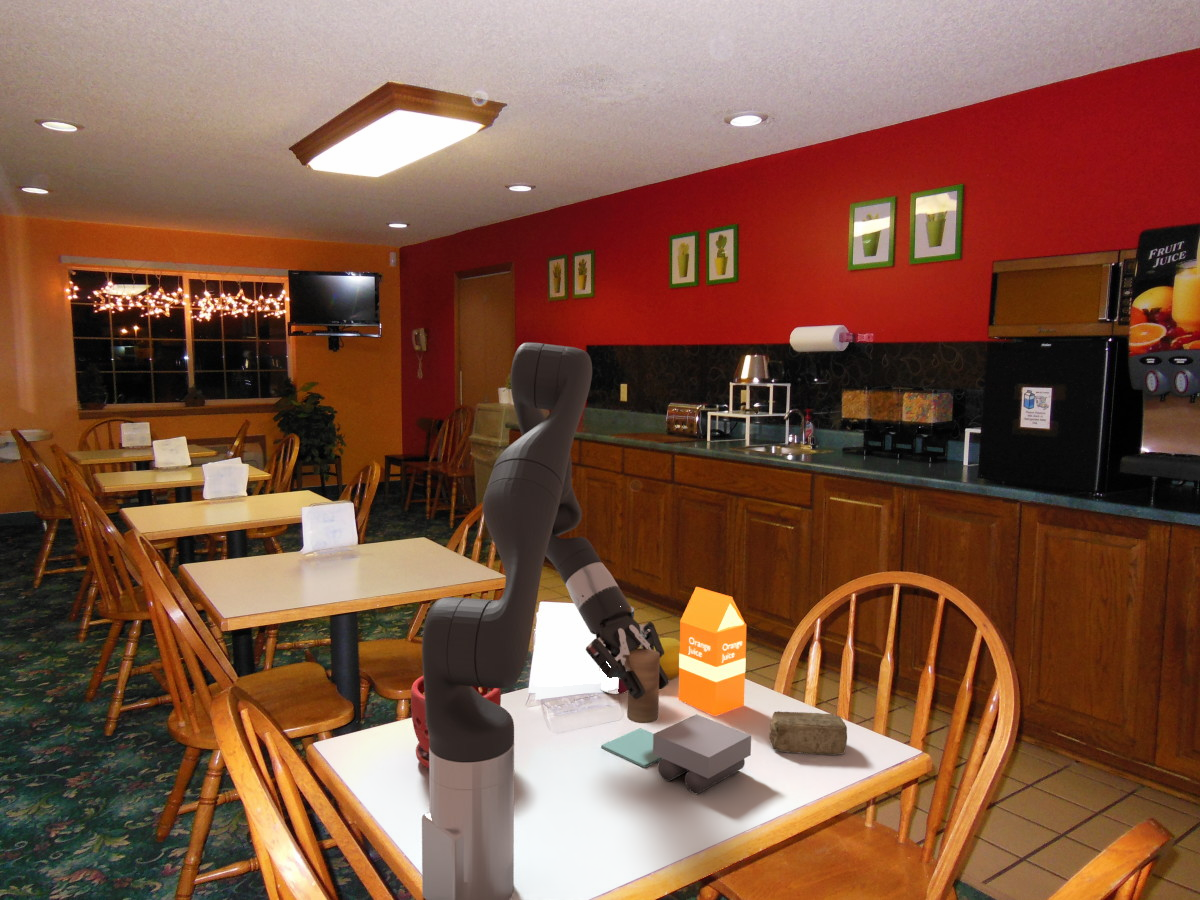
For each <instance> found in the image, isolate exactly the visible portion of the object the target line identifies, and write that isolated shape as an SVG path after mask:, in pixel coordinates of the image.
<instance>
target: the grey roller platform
mask: <svg viewBox="0 0 1200 900" xmlns="http://www.w3.org/2000/svg"><path fill="white" fill-rule="evenodd" d="M751 752H752V734H749V733H747V732H744V731H741V730H739V729H737V728H734V727H731V726H729V725H726V724H723V723H721V722H718V721H716V720H714V719H709V718H707V717H705V716H703V715H699V714H698V713H696V714H694V715H692V716H690V717H688V718H686V719H683V720H681V721H678V722H676V723H675V724H672V725H670V726H668V727H666V728H664V729H661V730H659V731H657V732H654V733H653V754H654V755H656V756H659V757H661V758H663V759H661V760H659V761H658V764H657V771H658V772H659V775H660V777H661V778H663V780H665V781H672V780H674V779H676V778H677V777H680V776H682V775H683V774H685V776H684V782H685V785H686V787H687V789H688V790H689V791H690V792H691V793H693V794H699V793H702V792H703V791H705V790H707V789H708V788H710V787H712V786H714V785H716V784H718V783H719V782H720V781H721V782H722V781H723V780H724V779H726V778H728V777H730V776H731V775H733V774H735V773H737V772H739V771H740V770H743V768H744V767H745V759H746V758H748V757H750V756H751V754H752V753H751Z"/></svg>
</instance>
